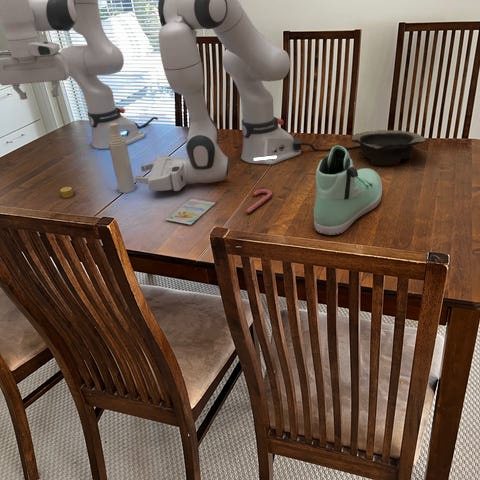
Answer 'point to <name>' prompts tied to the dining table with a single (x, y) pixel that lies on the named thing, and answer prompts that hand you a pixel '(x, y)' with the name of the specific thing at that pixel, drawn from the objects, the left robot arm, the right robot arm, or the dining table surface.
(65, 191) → the cap
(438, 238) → the dining table surface
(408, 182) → the dining table surface
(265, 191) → the candy cane
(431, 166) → the dining table surface
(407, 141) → the stone bowl
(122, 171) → the bottle
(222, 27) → the right robot arm
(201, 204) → the baking ingredient package
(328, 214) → the sneaker
